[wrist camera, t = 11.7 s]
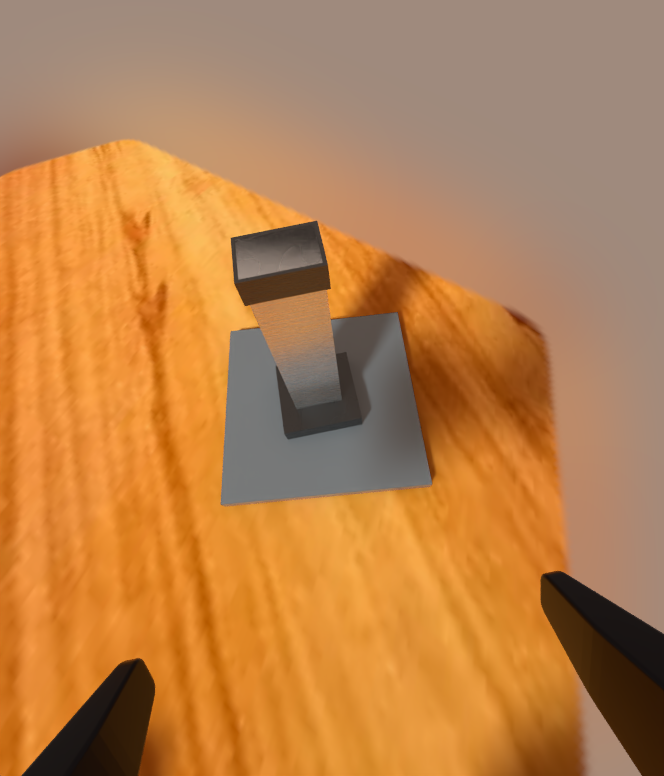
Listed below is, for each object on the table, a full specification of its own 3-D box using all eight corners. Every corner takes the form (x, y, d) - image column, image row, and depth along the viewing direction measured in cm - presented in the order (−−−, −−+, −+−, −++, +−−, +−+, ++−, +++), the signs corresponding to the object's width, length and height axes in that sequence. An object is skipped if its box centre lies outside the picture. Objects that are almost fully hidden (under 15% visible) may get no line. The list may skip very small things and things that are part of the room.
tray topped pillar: (362, 424, 23) (360, 289, 12) (287, 439, 23) (211, 319, 12) (346, 360, 26) (332, 193, 14) (279, 374, 25) (207, 218, 14)
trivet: (429, 486, 22) (432, 484, 21) (225, 506, 22) (220, 504, 22) (396, 318, 28) (397, 312, 27) (234, 337, 28) (230, 331, 28)
